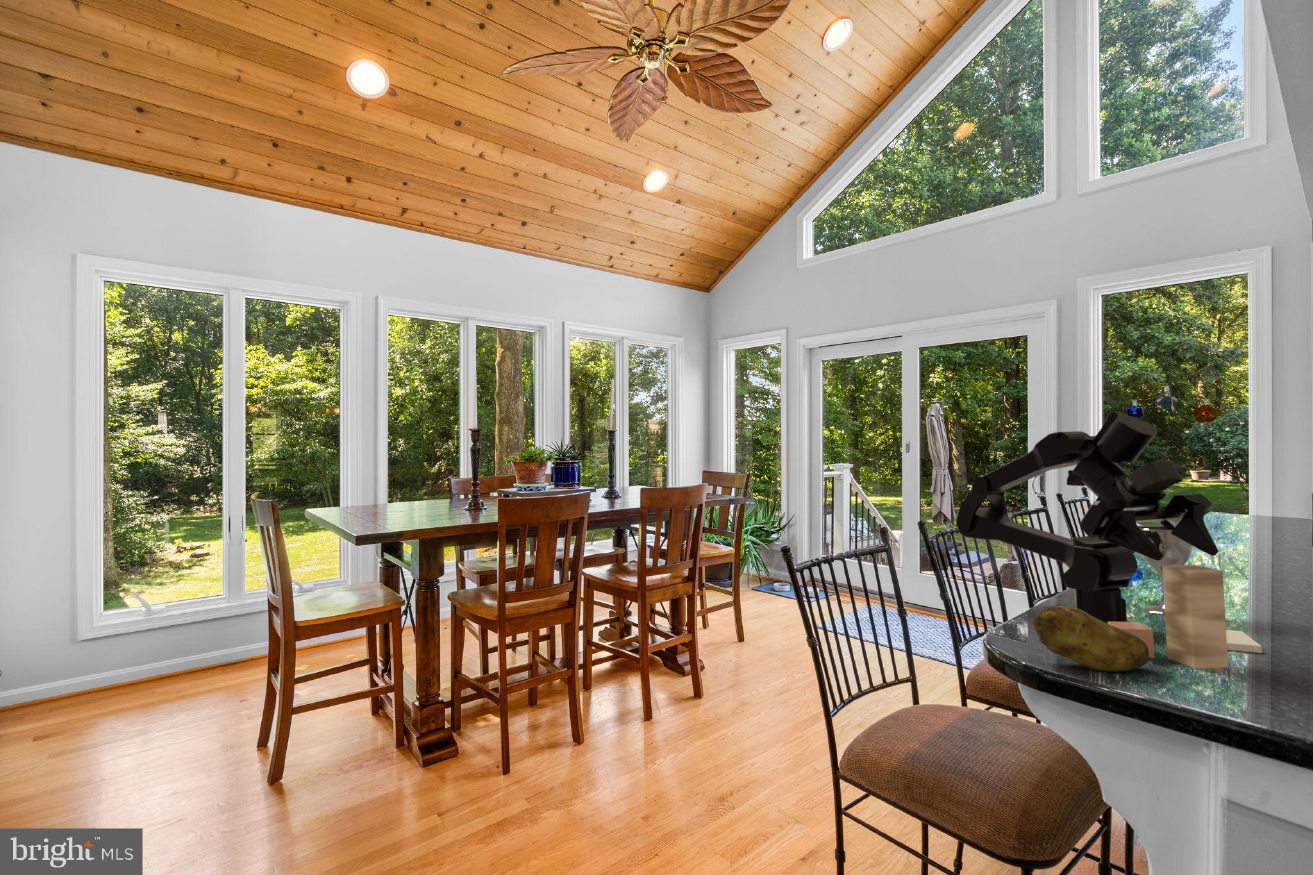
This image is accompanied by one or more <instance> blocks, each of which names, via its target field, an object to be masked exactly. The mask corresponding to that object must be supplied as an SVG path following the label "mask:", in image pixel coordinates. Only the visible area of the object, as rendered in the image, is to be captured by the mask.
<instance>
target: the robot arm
mask: <svg viewBox="0 0 1313 875" xmlns="http://www.w3.org/2000/svg"><path fill="white" fill-rule="evenodd" d="M1157 435H1158V430H1157V429H1156V428H1155V427H1154V425H1152V424H1151V423H1149V422H1148V421H1146V420H1145V421H1144V420H1141V419H1139V418H1137V417H1135V416H1131V415H1128V414H1125V413H1124V412H1123V411H1112V412H1110V414H1109V416H1108V417H1107V419H1106V422H1105V423H1104V424H1103V425H1102V427H1101V428H1100V430H1099V431H1098V432H1097V434H1096V435H1089V434H1088V433H1087V432H1084V431H1081V430H1079V431H1077V430H1076V431H1075V430H1074V431H1053V432H1049V434H1047V435H1046V436H1044V437H1043V438H1042V439H1040V440H1039V441H1038V442H1036V443H1035V444H1034V447H1033V448H1032V449H1031V450H1030V451H1028V453H1026V454H1023V455H1022V456H1020V457H1018V458H1016V459H1014V460H1012V461H1010V462H1008V463H1006V464H1003V465H1002V466H1000V467H998V468H996V469H994V470H992V471H990V472H988V473H985V474H982V475H979V476H977V477H976V478H975V479H974V481H973V484H972V487H971V489H970V491H969V493H968V494H967V495H966V496H965V498H964V499H963V500H962V502H961V504H960V507H959V510H958V514H957V518H956V522H955V523H956V528H957V529H958V532H959V534H960V535H961V536H962V537H964V538H969V539H975V540H990V541H999V542H1002V543H1004V544H1006V545H1007V544H1008V545H1011V546H1012V547H1017V548H1019V549H1021V550H1025V551H1028V552H1031V553H1033V554H1036V555H1040V556H1043V557H1046V558H1049V559H1052V560H1054V561H1057V562H1060V563H1063V564H1064V565H1066V567H1068V569H1067V570H1065V572H1063V574H1062V576H1061V577H1062V579H1063V582H1064V586H1065V587H1066V588H1067V589H1072V590H1073V596H1074V608H1077V609H1079V610H1082V611H1084V612H1086V613H1088V614H1089V615H1091V616H1093V617H1094V618H1096V619H1098V620H1100V621H1103V622H1106V623H1107V624H1108V621H1110V622H1128V619H1127V618H1128V617H1127V616H1128V614H1127V600H1126V599H1125V598H1124V597H1123V596H1122V590H1121V589H1122V588H1128V587H1129V585H1130V582H1131V579H1132V578H1133V577H1134V575H1136V574H1137V571H1138V568H1139V566H1138V560H1137V557H1136V555H1135V554H1134V552H1135V553H1137V554H1140V555H1141V554H1142V555H1144V556H1147V557H1149V558H1152V559H1154V560H1157V561H1160V560H1161V559H1162V558H1163V554H1162V553H1161V551H1160V550H1159V549H1158V548H1157V546H1156V545H1155V544H1154V543H1153V542H1152V541H1151V540H1150V539H1149V538H1148V537H1147V536H1146V534H1145V533H1144V532H1143V531H1142V530H1141V529H1140V528H1139V527H1138V526H1139V525H1138V524H1139V523H1141V524H1142V523H1153V522H1160V525H1163V526H1164V527H1165V528H1167V529H1170V530H1172V532H1171V534H1172V535H1174V536H1176V537H1178V538H1180V539H1182V540H1183V541H1185V542H1187V543H1189V544H1190V545H1192V547H1194V548H1195V549H1198V550H1199V551H1202V552H1203V553H1205V554H1207V555H1210V556H1212V557H1215V556H1217V555H1218V553H1219V548H1218V547H1217V545H1216V543H1215V541H1214V539H1213V538H1212V535H1211V534H1210V532H1209V530H1208V528H1207V526H1206V523H1205V520H1204V517H1205V515H1206V513H1207V512H1208V511H1209V509H1210V507H1211V505H1212V501H1210V500H1209V499H1208V498H1207V497H1205V496H1204V495H1203V494H1202V493H1191V494H1175V495H1173V497H1172V498H1171V499H1170V501H1169V502H1168V503H1167V505H1165V506H1160V502H1159V501H1162V500H1164V498H1165V497H1166V496H1167V493H1166V492H1164V491H1165V490H1167V489H1169V488H1171V486H1174V485H1175V484H1179V483H1182V482H1183V480H1184V479H1185V478H1186V475H1187V473H1186V471H1185V467H1184V466H1183V465H1180V464H1179V463H1178V462H1177V461H1174V460H1163V461H1152V462H1148V463H1147V462H1146V463H1144V464H1143V465H1141V466H1140V467H1137V468H1136V469H1135V470H1134V471H1131V473H1129V472H1127V471H1126V470H1125V469H1124V468H1123V467H1122V466H1120V465H1122V464H1124V463H1134V462H1136V460H1137V459H1138V458H1139V456H1140V455H1141V454H1142V453H1143V452H1144V450H1145V449H1146V448H1147V447H1148V445H1149V444H1150V443H1151V441H1152V440H1153V439H1154V438H1155V437H1156V436H1157ZM1119 464H1120V465H1119ZM1073 466H1075V467H1074V469H1073V470H1071V469H1069V470H1068V471H1067V474H1068V475H1067V477H1066V485H1068V486H1073V487H1075V486H1077V487H1087V489H1089V490H1090V491H1091V492H1092V493H1093V494H1094V495H1095V496H1096V497H1097V498H1096V499H1095V500H1094V501H1093V502H1092V504H1090V507H1088V510H1087V511H1086V513H1085V514H1084V515H1083V517H1082V518H1081V520H1080V527H1081V530H1082V531H1083V532H1084V534H1085V535H1082V536H1076V537H1075V536H1074V537H1072V538H1069V537H1065V536H1062V535H1058V534H1054V533H1051V532H1048V531H1046V530H1043V529H1038V528H1035V527H1031V526H1029V525H1025V524H1022V523H1018V522H1015V521H1013V520H1011V519H1010V518H1009V517H1008V515H1007V514H1005V513H1006V509H1007V507H1006V502H1005V497H1004V496H1005V492H1006V491H1007V490H1009V489H1010V488H1013V487H1015V486H1017V485H1021V484H1022V483H1025V482H1027V481H1029V480H1031V479H1033V478H1035V477H1038V476H1040V475H1042V474H1044V473H1046V472H1049V471H1052V470H1057V469H1061V468H1068V467H1073ZM987 497H989V501H990V502H989V505H988V507H983V508H982V507H981V506H982V504H983V503H984V502H985V500H986V499H987ZM980 507H981V508H980Z"/></svg>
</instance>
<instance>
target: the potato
mask: <svg viewBox="0 0 1313 875" xmlns="http://www.w3.org/2000/svg"><path fill="white" fill-rule="evenodd" d="M1032 625H1033V628H1034V630H1035V633H1036V634H1037V635H1038V638H1039V641H1040V643H1041V644H1043V645H1044V646H1045V647H1046V648H1047V650H1049V651H1050V652H1051V653H1053V654H1055V655H1059V656H1061V657H1064V658H1067V659H1069V660H1072V661H1073V662H1075V663H1076V664H1078V665H1081V666H1083V667H1085V668H1088V669H1090V670H1097V671H1101V672H1127V671H1128V672H1129V671H1132V670H1136V669H1139V668H1142V667H1143V666H1145V665H1146V664H1147V663H1148V661H1149V657H1148V656H1149V653H1148V647H1147V645H1146V643H1145V642H1144V641H1143V640H1141V639H1140V638H1139V637H1137V636H1135V635H1134V634H1131V633H1129V632H1127V631H1125V630H1122V629H1120V628H1117V627H1115V626H1112V625H1109V624H1107V623H1106V622H1103V621H1100V620H1098V619H1096V618H1094V617H1093V616H1091V615H1089V614H1088V613H1086V612H1084V611H1082V610H1079V609H1077V608H1075V607H1072V606H1066V605H1060V604H1055V605H1050V606H1045V607H1043V609H1040V610H1039V611H1038V613H1036V614H1035V615H1034V617H1033V622H1032Z"/></svg>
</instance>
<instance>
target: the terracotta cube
mask: <svg viewBox="0 0 1313 875" xmlns="http://www.w3.org/2000/svg"><path fill="white" fill-rule="evenodd" d="M1108 624H1109V625H1112V626H1115V627H1117V628H1120V629H1122V630H1125V631H1127V632H1129V633H1131V634H1134V635H1135V636H1137V637H1139V638H1140V639H1141V640H1143V641H1144V642H1145V643H1146V645H1147V647H1148V653H1149V656H1148V658H1155V644H1154V643H1155V642H1154V629H1152V628H1151V627H1148V626H1146V625H1145V624H1143V623H1141V622H1139V621H1127V622H1110V621H1108Z"/></svg>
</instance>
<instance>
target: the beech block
mask: <svg viewBox="0 0 1313 875" xmlns="http://www.w3.org/2000/svg"><path fill="white" fill-rule="evenodd" d="M1162 570H1163V584H1162V589H1163V588H1164V589H1163V604H1164V606H1165V615H1164V620H1165V622H1164V624H1165V638H1166V639H1165V640H1166V657H1167V659H1169V660H1172V661H1174V662H1177V663H1179V664H1182V665H1183V666H1186V667H1189V668H1192V669H1194V670H1199V669H1228V668H1229V657H1228V650H1227V638H1226V630H1227V624H1226V604H1225V590H1224V589H1225V587H1224V570H1222V569H1221V570H1220V569H1217V568H1212V567H1207V566H1201V565H1197V564H1185V565H1170V566H1162Z"/></svg>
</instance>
